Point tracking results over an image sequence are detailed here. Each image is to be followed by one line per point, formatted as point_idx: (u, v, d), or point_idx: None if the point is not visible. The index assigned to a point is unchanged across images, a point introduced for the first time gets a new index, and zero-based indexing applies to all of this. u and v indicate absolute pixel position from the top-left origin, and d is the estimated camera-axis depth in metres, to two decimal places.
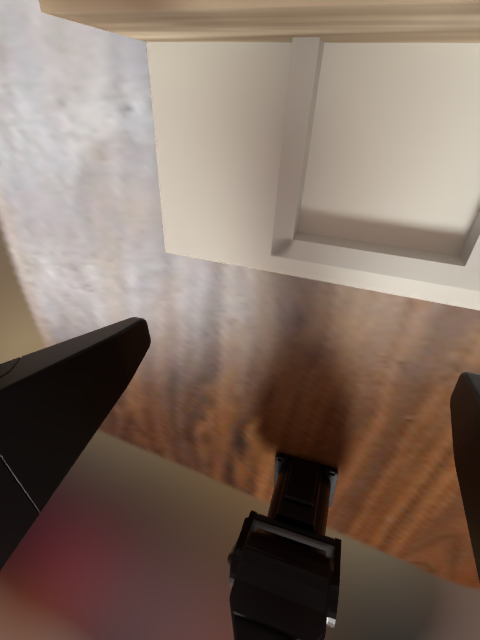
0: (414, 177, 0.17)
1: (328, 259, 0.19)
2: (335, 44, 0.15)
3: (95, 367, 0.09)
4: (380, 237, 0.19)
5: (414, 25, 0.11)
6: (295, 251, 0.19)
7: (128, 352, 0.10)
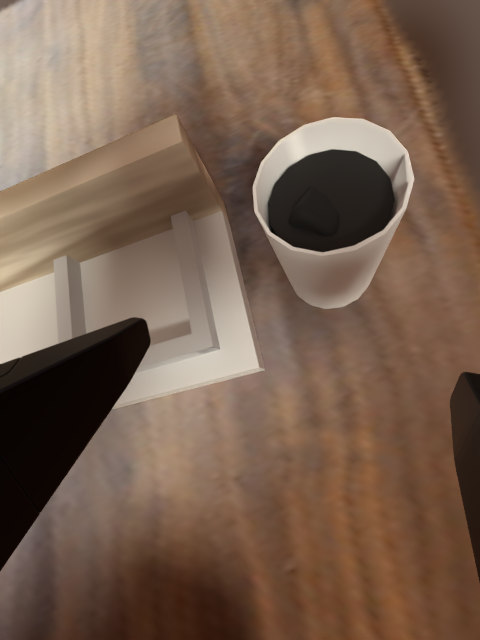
0: (149, 302, 0.24)
1: None
2: (85, 261, 0.27)
3: (95, 367, 0.09)
4: None
5: (82, 224, 0.23)
6: None
7: (128, 352, 0.10)
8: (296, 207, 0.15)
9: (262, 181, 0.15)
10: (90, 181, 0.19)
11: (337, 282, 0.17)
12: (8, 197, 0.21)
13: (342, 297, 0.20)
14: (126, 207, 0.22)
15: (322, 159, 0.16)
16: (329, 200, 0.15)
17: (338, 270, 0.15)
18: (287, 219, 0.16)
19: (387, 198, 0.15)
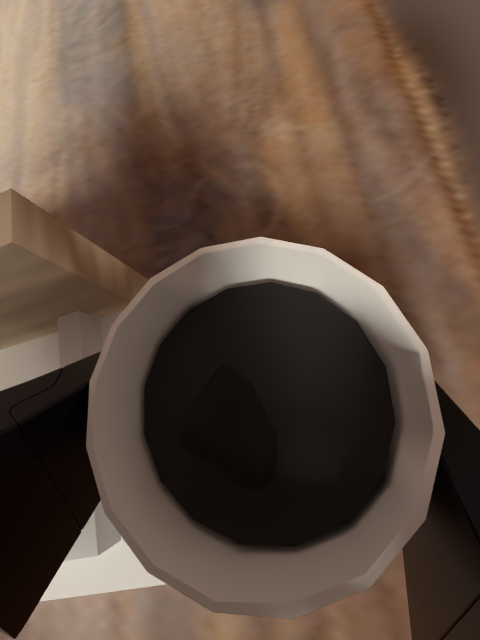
0: None
1: None
2: None
3: None
4: None
5: None
6: None
7: None
8: (181, 429, 0.07)
9: (118, 358, 0.07)
10: None
11: None
12: None
13: None
14: None
15: (250, 302, 0.08)
16: (258, 400, 0.07)
17: None
18: (176, 429, 0.08)
19: (379, 415, 0.07)
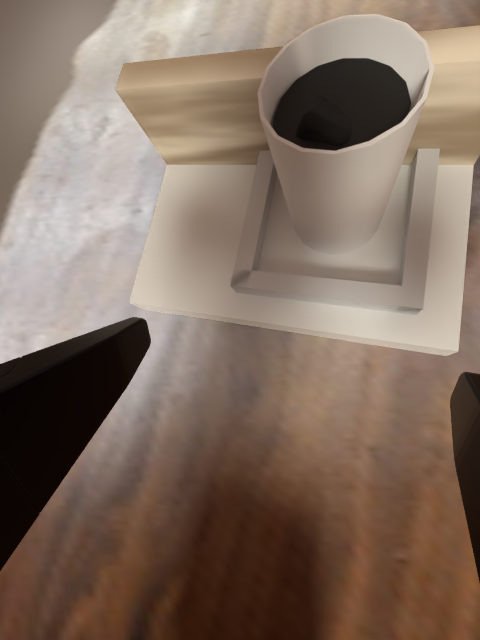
0: None
1: (282, 286, 0.21)
2: None
3: (95, 367, 0.09)
4: None
5: None
6: (252, 281, 0.21)
7: (128, 352, 0.10)
8: (305, 113, 0.14)
9: (267, 89, 0.14)
10: None
11: (348, 206, 0.16)
12: None
13: (351, 234, 0.19)
14: None
15: (331, 69, 0.15)
16: (340, 109, 0.14)
17: (350, 183, 0.14)
18: (295, 131, 0.15)
19: (403, 102, 0.14)
